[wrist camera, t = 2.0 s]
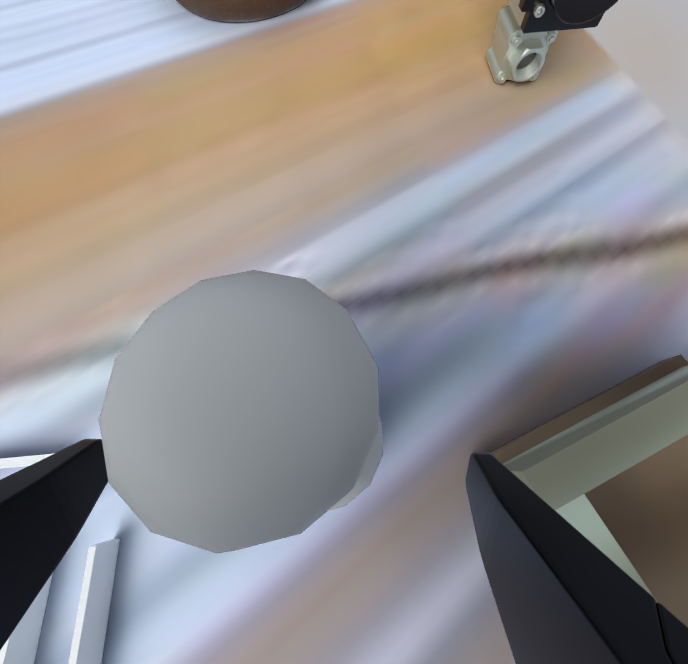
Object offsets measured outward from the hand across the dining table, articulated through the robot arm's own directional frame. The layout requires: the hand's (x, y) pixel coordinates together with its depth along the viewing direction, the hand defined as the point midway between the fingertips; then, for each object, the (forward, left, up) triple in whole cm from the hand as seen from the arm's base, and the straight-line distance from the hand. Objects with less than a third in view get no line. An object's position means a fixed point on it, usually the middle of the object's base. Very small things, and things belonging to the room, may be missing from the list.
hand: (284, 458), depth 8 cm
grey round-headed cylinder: (+1, 0, -9) cm, 9 cm away
